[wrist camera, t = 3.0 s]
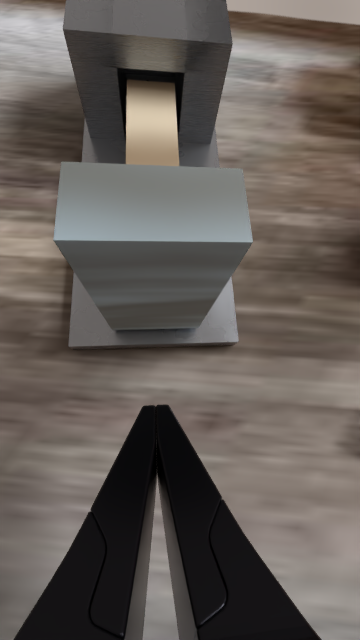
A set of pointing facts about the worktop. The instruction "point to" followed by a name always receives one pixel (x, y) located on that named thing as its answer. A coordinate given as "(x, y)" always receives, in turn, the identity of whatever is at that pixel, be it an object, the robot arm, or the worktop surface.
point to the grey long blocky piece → (110, 122)
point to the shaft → (152, 223)
